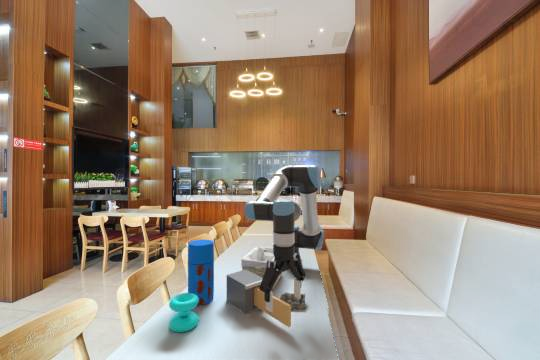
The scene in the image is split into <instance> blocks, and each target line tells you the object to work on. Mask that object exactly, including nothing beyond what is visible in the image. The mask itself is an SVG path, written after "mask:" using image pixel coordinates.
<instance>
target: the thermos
mask: <svg viewBox="0 0 540 360" xmlns="http://www.w3.org/2000/svg"><path fill="white" fill-rule="evenodd" d="M214 243H215V242H214V241H213V240H212V239H195V240H191V241H189V242H188V243H187V244H188V245H187V293H193V294H195V295H197V296H198V299H199V302H198V304H197V306H198V307H200V306H206V305H208V304H210V303H211V302H213V300H214V295H215V294H214V293H215V254H214V253H215V244H214ZM197 306H196V307H197Z"/></svg>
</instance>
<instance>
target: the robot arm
mask: <svg viewBox="0 0 540 360" xmlns="http://www.w3.org/2000/svg"><path fill="white" fill-rule="evenodd" d="M321 186H322V176H321V171H320V168H319V167H318V165H314V164H304V165H301V164H300V165H285V166H283V167H281V168H279V169H277V170H276V171H274V172H273V174H272V175H271V176H270V177H269V182H268V184H267V185H266V186H265V187H264V189H263V190H262V191H261V192H260V194H259V195H258V196H257V198H256V199H255V201H253V200H252V201H251V200H250V201H247V202H246V203H245V205H244V208H243V209H244V210H243V212H244V217H245V218H246V219H247V220H250V221H264V222H266V221H267V222H273V223H272V226H273V227H272V229H273V230H272V238H273V239H272V242H273V245H272V246H273V247H272V248H273V253H272V254H273V256H274V257H275V258H274V261H267V267H266V270H265V273H264V276H263V279H262V282H261V285H260V288H259V290H260V291H262V292H264V300H265V301H266V309H267V310H268V311H270V312H273V296H274V293H273V290H272V288H273V286H274V284H275V282H276V280H277V278H278V276H279V275H280V274H281V273H282V274H283V273H284V272H286V271H290V273H291V274H292V275H293V276H294V279H293V294H294V297H296V298H298V299H300V298H301V293H302V282H303V281H304V280H305V277H306V276H307V275H306V272H305V269H304V267H303V264H302V263H303V260H302V257H301V254H300V249H306V250H308V249H309V250H321V249H322V248H323V243H324V236H325V235H324V233H325V231H324V229H322V227H321V225H320V224H319V217H318V205H317V204H318V203H317V192H318V191H319V188H321ZM287 188H296V191H297V193H299V195H300V196H299V197H300V204H299V203H298V202H295V201H293V200H292V199H278V198H279V196H280V195H281V193H282V191H284V190H285V189H287ZM300 217H302V226H301V228H300V227H299V225H295V222H296V221H297V220H298V219H299V218H300ZM276 269H278V270H279V271H277V270H276ZM268 287H269V288H268ZM273 289H274V288H273ZM271 290H272V291H271Z"/></svg>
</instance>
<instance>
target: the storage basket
mask: <svg viewBox="0 0 540 360" xmlns="http://www.w3.org/2000/svg"><path fill="white" fill-rule="evenodd" d="M265 253H271V254H273V247H269V246H268V247H267V246H256V247H254V248H253V249H252V250H250V251H249V252H248V253H247V254H246V255H244V256H243V257H242V258H241V259H240V260H241V265H240V266H241V271H242V270H248V271H250V272H252V273H254V274H256V275H258V276H260V277H262V278H263V276H264V273H265V270H266V267H267V261H274V258H275V257H274V255H273V256H272V255H270V256H269V255H265ZM276 270H277V271H279V270H278V269H276ZM282 275H283V272H282V273H281V274H280V275H279V276H278V278H277V280H276V282H275V284H274V286H273V288H272V290H271V292H273V289H274V288H275V287H276V285H277V283H278V282H279V280H280V278H281V277H282ZM268 288H269V287H268Z"/></svg>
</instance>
